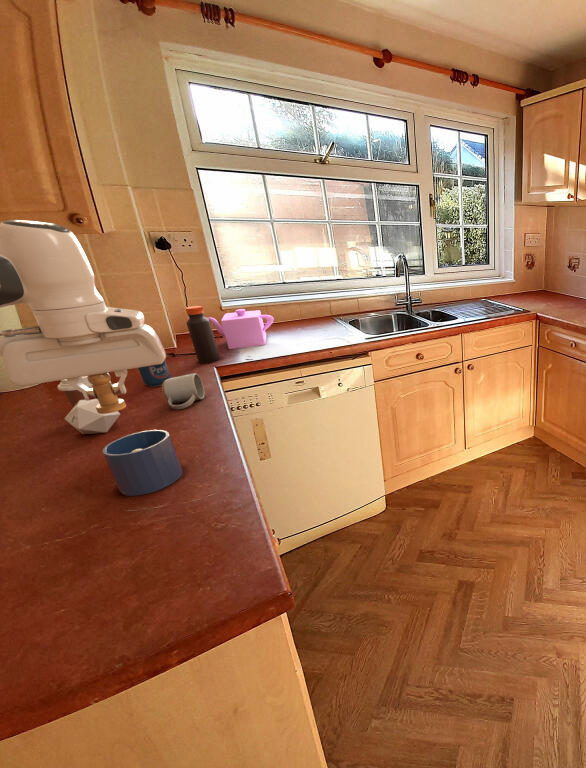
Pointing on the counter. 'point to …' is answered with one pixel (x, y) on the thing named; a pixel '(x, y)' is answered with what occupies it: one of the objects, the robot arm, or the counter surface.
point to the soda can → (155, 374)
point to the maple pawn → (105, 394)
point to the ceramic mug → (183, 390)
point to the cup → (143, 462)
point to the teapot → (243, 328)
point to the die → (90, 418)
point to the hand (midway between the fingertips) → (107, 396)
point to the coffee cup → (73, 390)
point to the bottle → (202, 335)
